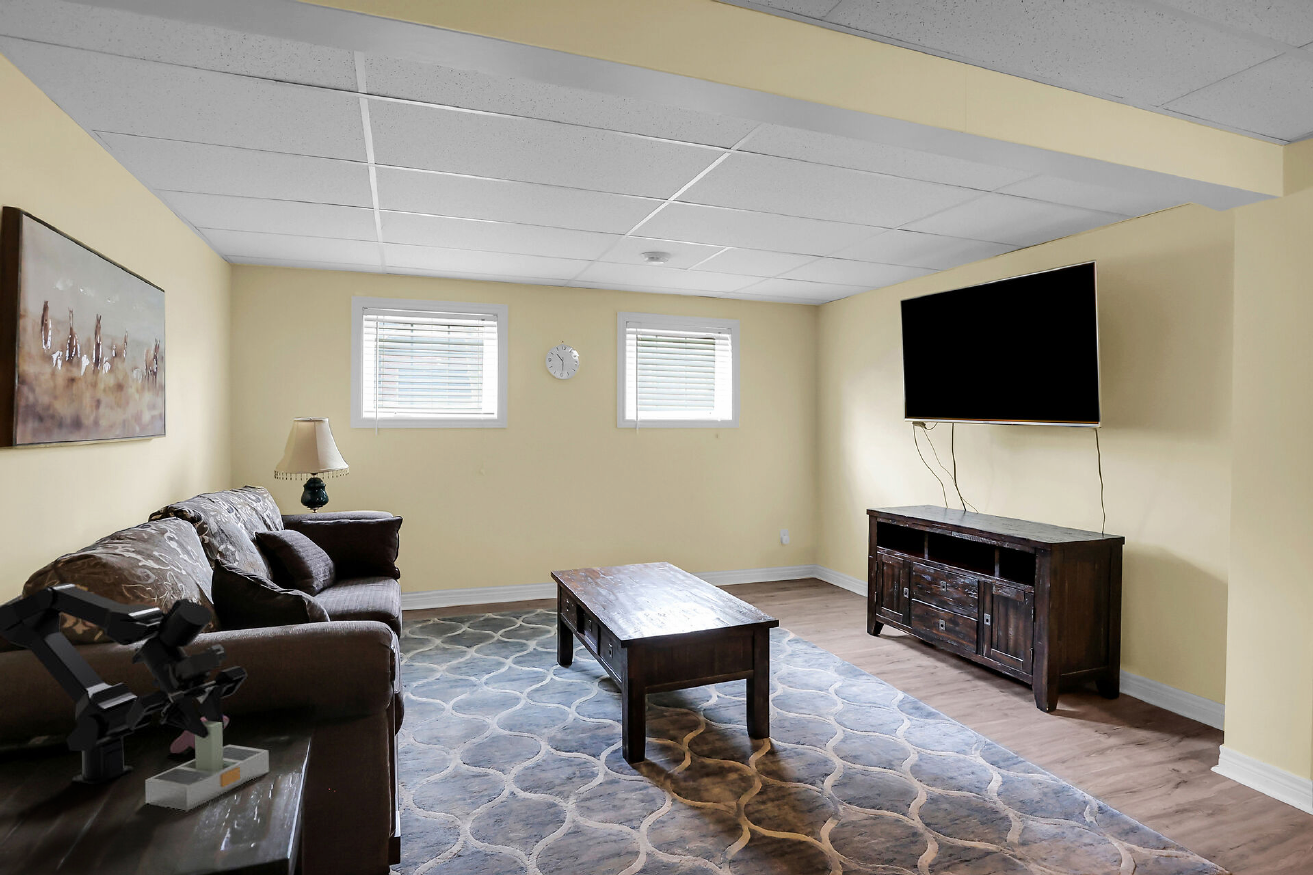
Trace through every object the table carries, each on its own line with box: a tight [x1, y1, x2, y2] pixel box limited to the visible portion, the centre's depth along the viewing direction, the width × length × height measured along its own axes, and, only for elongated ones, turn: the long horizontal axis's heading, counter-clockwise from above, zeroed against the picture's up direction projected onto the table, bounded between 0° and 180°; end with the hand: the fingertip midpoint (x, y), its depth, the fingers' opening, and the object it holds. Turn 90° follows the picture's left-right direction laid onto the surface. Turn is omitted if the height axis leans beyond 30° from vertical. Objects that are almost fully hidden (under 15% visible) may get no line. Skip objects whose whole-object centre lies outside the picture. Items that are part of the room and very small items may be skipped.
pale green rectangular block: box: [194, 721, 224, 773], centre depth 122 cm, size 4×2×10 cm, turn 70°
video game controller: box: [169, 714, 230, 754], centre depth 141 cm, size 10×5×7 cm, turn 169°
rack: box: [144, 744, 270, 812], centre depth 122 cm, size 10×15×4 cm
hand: (214, 733), depth 122 cm, fingers open, 3 cm apart
